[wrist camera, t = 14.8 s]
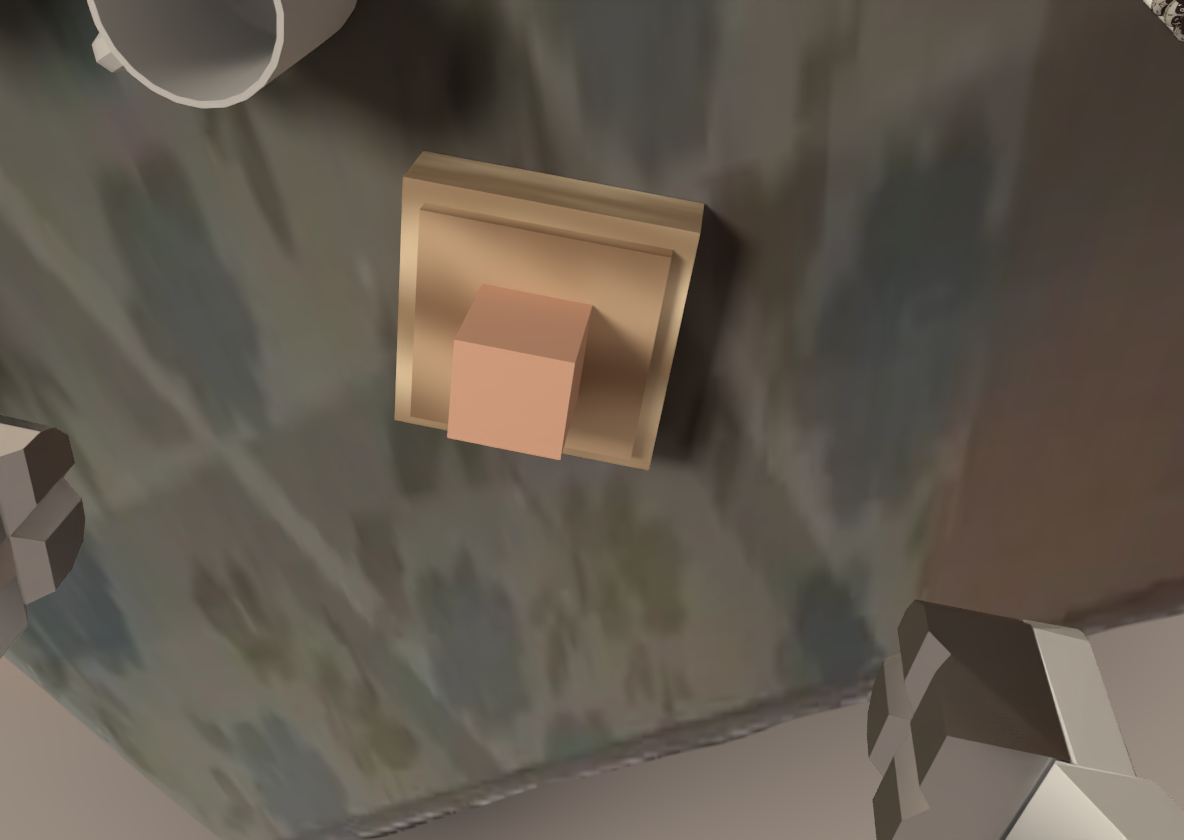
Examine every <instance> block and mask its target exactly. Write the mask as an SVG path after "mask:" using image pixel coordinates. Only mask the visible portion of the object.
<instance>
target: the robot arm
mask: <svg viewBox="0 0 1184 840" xmlns="http://www.w3.org/2000/svg"><path fill="white" fill-rule="evenodd" d="M74 463H75V461H74V457H73V453H72V449H71V445H70V441H69V437H68V435H67V434H65V433H64V432H62V431H60V430H58V429H57V428H55V427H51V426H47V425H42V424H38V423H33V422H29V421H24V420H20V419H15V418H11V417H6V416H2V415H0V658H1V657H2V656H3V655H4V654H5V652H6V651H7V650H8V649H9V647H10V646H11V645H12V644H13V643H14V641H15V640H16V639H17V638H18V636H19V635H20V634H21V633H22V632H23V630H24V629H25V628H26V627H27V625H28V617H27V607H26V604H28V603H30V602H33V601H35V600H37V599H39V598H41V597H43V596H46V595H48V594H50V593H52V592H54V591H56V590H57V588H58V587H59V586H60V584H61V583H62V582H63V581H64V579H65V578H66V577H67V575H68V574H69V573H70V571H71V570H72V569H73V566H74V564H75V561H76V559H77V556H78V554H79V551H80V549H81V546H82V543H83V540H84V528H85V514H84V508H83V502H82V498H81V497H80V496H79V495H78V494H77V493H76V492H75V490H74V489H73V488H72V487H71V486H70V485H69V484H68V483H67V481H66V480H65V479H64V478H63V477H64V476H65V474H66V473H67V472H68V471H69V470H70V468H71V467H72V466H73V465H74ZM898 636H899V644H900V652H899V653H897V654H895V655H893V656H891V657H890V658H888V659H886V660H884V661H883V663H882V665H881V668H880V670H879V673H878V675H877V678H876V680H875V683H874V685H873V690H872V695H871V700H870V705H869V710H868V722H867V742H868V754H869V759H870V761H871V762H872V763H873V764H874V766H875V767H876V768H877V770H878V771H879V772H880V774H881V775H882V776H883V779H882V781H881V783H880V785H879V788H878V790H877V792H876V794H875V796H874V798H873V807H874V818H875V827H876V837H877V840H1184V810H1183V809H1182V808H1181V807H1180V806H1179V805H1178V804H1177V803H1175V801H1173V800H1172V798H1171V797H1170V796H1169V795H1168V794H1166V792H1164V790H1163V789H1161V788H1160V787H1159V786H1158V785H1157V784H1156V783H1155V782H1154V781H1150V780H1145V779H1141V778H1137V776H1136V773H1135V770H1134V767H1133V764H1132V762H1131V759H1130V756H1129V753H1128V750H1127V747H1126V744H1125V742H1124V739H1123V736H1122V733H1121V730H1120V728H1119V725H1118V722H1117V719H1116V716H1115V713H1114V711H1113V708H1112V705H1111V702H1110V699H1109V697H1108V694H1107V691H1106V688H1105V685H1104V682H1103V679H1102V677H1101V674H1100V671H1099V668H1098V665H1097V662H1096V660H1095V657H1094V654H1093V651H1092V649H1091V646H1090V643H1089V640H1088V638H1087V637H1086V636H1085V635H1084V634H1083V633H1082V632H1081V631H1080V630H1079V629H1073V628H1068V627H1062V626H1057V625H1051V624H1046V623H1040V622H1035V621H1029V620H1023V621H1021V620H1018V619H1014V618H1009V617H1003V616H998V615H993V614H988V613H983V612H977V611H972V610H967V609H962V608H957V607H952V606H946V605H941V604H936V603H931V602H926V601H920V600H914V601H913V602H912V604H911V605H910V606H909V607H908V608H907V609H906V611H905V613H904V616H903V618H902V620H901V622H900V624H899V626H898Z"/></svg>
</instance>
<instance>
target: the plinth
mask: <svg viewBox="0 0 1184 840" xmlns="http://www.w3.org/2000/svg"><path fill="white" fill-rule="evenodd" d="M703 210H704V204H703V203H697V202H692V201H687V200H681V199H676V198H671V197H666V196H660V195H655V194H650V193H644V192H639V191H634V190H629V189H623V188H618V187H613V186H607V185H602V184H597V183H592V182H586V181H581V180H576V179H570V178H565V177H560V176H555V175H549V174H544V173H539V172H533V171H528V170H523V169H517V168H512V167H507V166H502V165H496V164H491V163H486V162H480V161H475V160H470V159H465V158H459V157H454V156H449V155H443V154H438V153H433V152H428V151H423V152H422V153H421V154H420V156H419V157H418V158H417V160H416V161H415V162H414V163H413V165H412V166H411V167H410V168H409V170H408V171H407V172H406V174H405V175H404V176H403V192H402V222H401V251H400V280H399V309H398V338H397V367H396V397H395V420H398V421H403V422H408V423H413V424H418V425H423V426H428V427H433V428H438V429H443V430H448V419H449V405H450V391H451V377H452V363H453V349H454V339H455V337H456V335H457V333H458V331H459V329H460V327H461V325H462V323H463V321H464V319H465V317H466V315H467V313H468V311H469V309H470V307H471V305H472V303H473V301H474V299H475V297H476V295H477V293H478V291H479V289H480V287H481V285H482V284H487V285H492V286H497V287H502V288H507V289H513V290H518V291H523V292H528V293H533V294H538V295H544V296H549V297H554V298H559V299H564V300H569V301H575V302H580V303H585V304H590V305H592V311H591V318H590V324H589V330H588V337H587V343H586V349H585V356H584V362H583V368H582V375H581V381H580V387H579V394H578V399H577V402H576V406H575V409H574V413H573V417H572V420H571V424H570V427H569V431H568V434H567V438H566V441H565V445H564V449H563V452H562V453H564V454H569V455H574V456H579V457H584V458H589V459H594V460H599V461H604V462H609V463H614V464H619V465H624V466H629V467H634V468H639V469H644V470H649V467H650V463H651V458H652V453H653V449H654V444H655V440H656V435H657V430H658V426H659V421H660V417H661V412H662V407H663V403H664V398H665V394H666V389H667V384H668V380H669V375H670V371H671V366H672V361H673V357H674V352H675V348H676V343H677V338H678V334H679V329H680V325H681V320H682V315H683V311H684V306H685V302H686V297H687V292H688V288H689V283H690V279H691V274H692V269H693V265H694V260H695V256H696V251H697V246H698V242H699V237H700V232H701V225H702V217H703Z"/></svg>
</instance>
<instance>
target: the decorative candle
mask: <svg viewBox="0 0 1184 840" xmlns="http://www.w3.org/2000/svg"><path fill="white" fill-rule="evenodd" d="M1143 1H1144V2H1145V3H1146V4H1147V6H1148V7H1149V8H1150V9H1151V11H1152V13H1153V14H1155V15H1157V16H1158V17H1159V18H1160V19H1161V20H1162V21H1163V22H1164V23H1165V24H1166V25H1167V26H1168V28H1169V29H1170V30H1172V31H1173V33H1174V36H1175V38H1176V39H1177V40H1178V41H1181V42H1184V0H1143Z"/></svg>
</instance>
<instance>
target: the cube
mask: <svg viewBox="0 0 1184 840" xmlns="http://www.w3.org/2000/svg"><path fill="white" fill-rule="evenodd" d="M591 311H592V305H590V304H585V303H580V302H575V301H569V300H564V299H559V298H554V297H549V296H544V295H538V294H533V293H528V292H523V291H518V290H513V289H507V288H502V287H497V286H492V285H487V284H482V285H481V287H480V289H479V291H478V293H477V295H476V297H475V299H474V301H473V303H472V305H471V307H470V309H469V311H468V313H467V315H466V317H465V319H464V321H463V323H462V325H461V327H460V329H459V331H458V333H457V335H456V337H455V339H454V349H453V363H452V377H451V391H450V405H449V419H448V433H447V438H451V439H456V440H461V441H466V442H471V443H476V444H481V445H486V446H491V447H497V448H502V449H507V450H512V451H517V452H522V453H527V454H532V455H537V456H542V457H547V458H552V459H557V460H560V459H561V456H562V452H563V449H564V445H565V441H566V438H567V434H568V431H569V427H570V424H571V420H572V417H573V413H574V409H575V406H576V402H577V399H578V394H579V387H580V381H581V375H582V368H583V362H584V356H585V349H586V343H587V337H588V330H589V324H590V318H591Z"/></svg>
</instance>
